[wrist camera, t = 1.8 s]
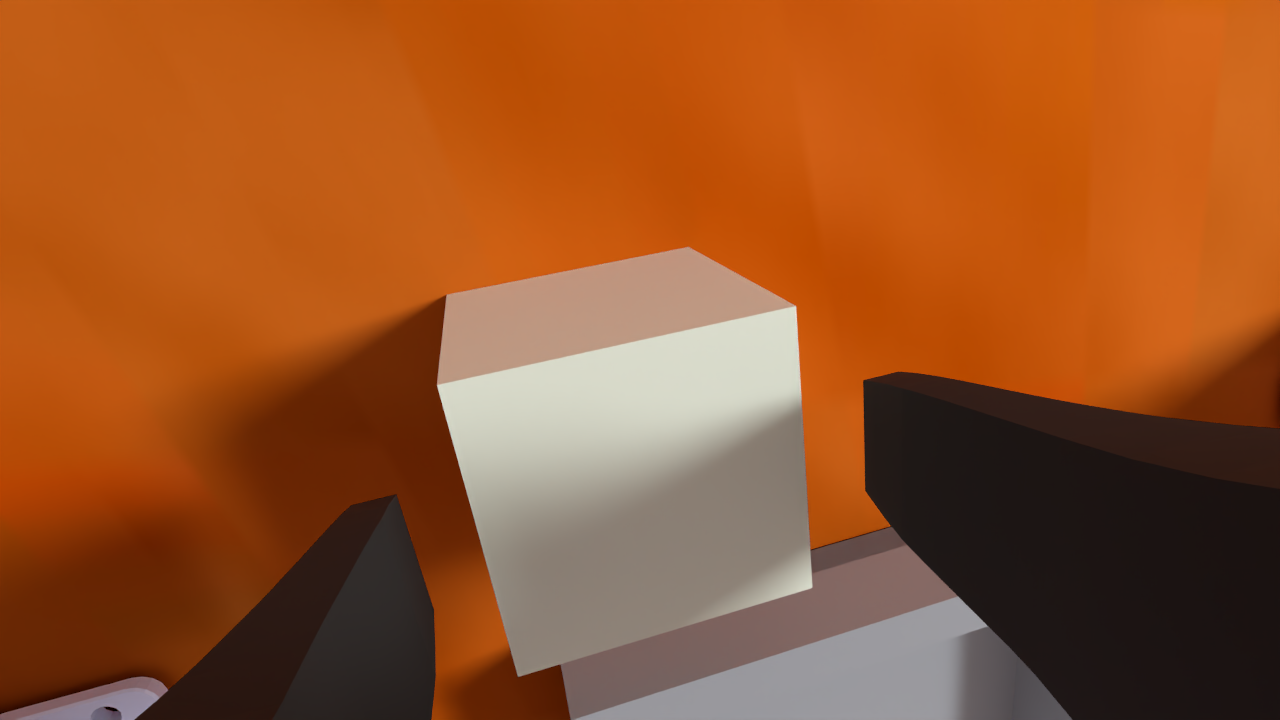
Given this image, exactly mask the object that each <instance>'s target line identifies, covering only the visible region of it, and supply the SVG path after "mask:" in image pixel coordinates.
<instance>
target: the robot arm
mask: <svg viewBox="0 0 1280 720" xmlns="http://www.w3.org/2000/svg"><path fill="white" fill-rule="evenodd" d="M863 387H864V442H865V491H866V492H867V494H868V495H869V496H870V498H871V499H872V501H873V502H874V503H875V505H876V506H877V508H878V509H879V510H880V512H881V513H882V515H883V516H884V517H885V519H886V520H887V521H888V522H889V524H890V525H891V526H892V528H893V529H894V530H895V531H896V533H897V534H898V535H899V537H900V538H901V539H902V540H903V541H904V542H905V543H906V544H907V545H908V546H909V548H910V549H911V550H912V551H913V552H914V553H915V554H916V555H917V556H918V557H919V558H920V559H921V560H922V561H923V562H924V563H925V564H926V565H927V566H928V567H929V568H930V569H931V570H932V571H933V572H934V573H935V574H936V575H937V576H938V577H939V578H940V579H941V580H942V581H943V582H944V583H945V584H946V585H947V586H948V587H949V588H950V589H951V590H952V591H953V592H954V593H955V594H956V595H957V596H958V597H959V598H960V599H961V600H962V601H963V602H964V603H965V604H966V605H967V606H968V607H969V608H970V609H971V610H972V611H973V612H974V613H975V614H976V615H977V616H978V617H979V618H980V619H981V620H982V621H983V622H984V623H985V624H986V625H987V626H988V627H989V628H990V629H991V630H992V631H993V632H994V633H995V634H996V635H997V636H998V637H999V638H1000V639H1001V640H1002V641H1003V642H1004V643H1005V644H1006V645H1007V646H1009V647H1010V649H1011V650H1012V651H1013V652H1014V653H1015V654H1016V655H1017V656H1018V657H1019V658H1020V659H1021V660H1022V661H1023V662H1024V664H1025V665H1026V666H1027V667H1028V668H1029V669H1030V670H1031V671H1032V672H1033V673H1034V674H1035V675H1036V677H1037V678H1038V679H1039V680H1040V681H1041V682H1042V684H1043V685H1044V686H1045V687H1046V689H1047V690H1048V691H1049V692H1050V693H1051V695H1052V696H1053V697H1054V698H1055V699H1056V701H1057V702H1058V703H1059V704H1060V705H1061V707H1062V708H1063V709H1064V710H1065V711H1066V713H1067V714H1068V715H1069V716H1070V717H1071V719H1072V720H1280V428H1266V427H1253V426H1240V425H1229V424H1220V423H1211V422H1202V421H1193V420H1184V419H1175V418H1166V417H1158V416H1151V415H1144V414H1137V413H1130V412H1124V411H1118V410H1112V409H1106V408H1100V407H1094V406H1088V405H1082V404H1076V403H1071V402H1065V401H1060V400H1055V399H1049V398H1044V397H1039V396H1034V395H1029V394H1024V393H1019V392H1014V391H1009V390H1004V389H999V388H995V387H990V386H985V385H980V384H975V383H970V382H965V381H960V380H955V379H949V378H944V377H938V376H932V375H925V374H918V373H908V372H896V373H891V374H887V375H883V376H879V377H875V378H871V379H867V380H863ZM435 676H436V674H435V630H434V609H433V606H432V603H431V600H430V597H429V594H428V590H427V587H426V584H425V581H424V578H423V575H422V572H421V569H420V566H419V563H418V560H417V557H416V554H415V550H414V547H413V544H412V541H411V538H410V535H409V532H408V529H407V526H406V523H405V520H404V517H403V514H402V510H401V507H400V504H399V501H398V498H397V495H392V496H388V497H384V498H379V499H375V500H371V501H367V502H363V503H359V504H355V505H351V506H350V507H349V508H348V509H347V510H346V511H344V512H343V513H342V514H341V515H340V516H339V517H338V518H337V520H336V521H335V522H334V523H333V524H332V525H331V526H330V527H329V528H328V529H327V530H326V531H325V532H324V533H323V535H322V536H321V537H320V538H319V539H318V540H317V541H316V542H315V543H314V544H313V545H312V547H311V548H310V549H309V550H308V551H307V552H306V553H305V554H304V555H303V556H302V558H301V559H300V560H299V561H298V562H297V563H296V564H295V565H294V566H293V567H292V568H291V569H290V570H289V572H288V573H287V574H286V575H285V576H284V577H283V578H282V579H281V580H280V581H279V582H278V583H277V584H276V586H275V587H274V588H273V589H272V590H271V591H270V592H269V593H268V594H267V595H266V596H265V597H264V598H263V599H262V600H261V601H260V602H259V603H258V604H257V605H256V606H255V607H254V608H253V609H252V610H251V611H250V612H249V613H248V614H247V615H246V616H245V617H244V618H243V619H242V620H241V621H240V622H239V623H238V624H237V625H236V626H235V627H234V628H233V629H232V630H231V631H230V632H229V633H228V634H227V635H226V636H225V637H224V638H223V639H222V640H221V641H220V642H219V643H218V644H217V645H216V646H215V647H214V648H213V649H212V650H211V651H210V652H209V653H208V654H207V655H206V656H205V657H204V658H203V659H202V660H201V661H200V662H199V663H198V664H197V665H196V666H194V667H193V668H192V669H191V670H190V671H189V672H188V673H187V674H186V675H185V676H184V677H183V678H181V679H180V680H179V681H178V682H177V683H176V684H175V685H174V686H173V687H171V688H170V689H169V690H168V689H167V688H166V687H165V686H164V684H163V683H162V682H160V681H158V680H156V679H154V678H149V677H134V678H129V679H125V680H121V681H118V682H114V683H111V684H107V685H103V686H100V687H96V688H92V689H89V690H85V691H82V692H78V693H74V694H71V695H67V696H63V697H60V698H56V699H53V700H49V701H45V702H42V703H38V704H34V705H31V706H27V707H23V708H20V709H16V710H13V711H9V712H5V713H2V714H0V720H431V717H432V707H433V698H434V687H435ZM108 706H109V707H113V708H116V709H117V710H119V711H110V710H106V709H105V708H104V707H108Z"/></svg>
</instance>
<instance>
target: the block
mask: <svg viewBox="0 0 1280 720" xmlns="http://www.w3.org/2000/svg"><path fill="white" fill-rule="evenodd" d="M437 387H438V391H439V395H440V398H441V402H442V405H443V409H444V413H445V416H446V420H447V423H448V427H449V431H450V434H451V438H452V441H453V445H454V449H455V452H456V456H457V459H458V463H459V467H460V470H461V474H462V477H463V481H464V485H465V488H466V492H467V495H468V499H469V502H470V506H471V510H472V513H473V517H474V520H475V524H476V528H477V531H478V535H479V538H480V542H481V546H482V549H483V553H484V556H485V560H486V564H487V567H488V571H489V574H490V578H491V582H492V585H493V589H494V592H495V596H496V600H497V603H498V607H499V610H500V614H501V618H502V621H503V625H504V628H505V632H506V636H507V639H508V643H509V646H510V650H511V654H512V657H513V661H514V664H515V668H516V671H517V675H518V677H520V676H523V675H526V674H530V673H533V672H536V671H540V670H543V669H546V668H550V667H553V666H556V665H559V664H563V663H566V662H569V661H573V660H576V659H579V658H583V657H586V656H589V655H592V654H596V653H599V652H602V651H606V650H609V649H612V648H616V647H619V646H622V645H626V644H629V643H632V642H635V641H639V640H642V639H645V638H649V637H652V636H655V635H659V634H662V633H665V632H669V631H672V630H675V629H678V628H682V627H685V626H688V625H692V624H695V623H698V622H702V621H705V620H708V619H711V618H715V617H718V616H721V615H725V614H728V613H731V612H735V611H738V610H741V609H745V608H748V607H751V606H754V605H758V604H761V603H764V602H768V601H771V600H774V599H778V598H781V597H784V596H788V595H791V594H794V593H797V592H801V591H804V590H807V589H811V588H812V571H811V554H810V537H809V520H808V503H807V486H806V469H805V452H804V435H803V418H802V401H801V384H800V367H799V350H798V333H797V316H796V306H795V305H793V304H791V303H789V302H788V301H786V300H784V299H782V298H780V297H779V296H777V295H775V294H773V293H771V292H769V291H768V290H766V289H764V288H762V287H760V286H759V285H757V284H755V283H753V282H751V281H749V280H748V279H746V278H744V277H742V276H740V275H739V274H737V273H735V272H733V271H731V270H729V269H728V268H726V267H724V266H722V265H720V264H719V263H717V262H715V261H713V260H711V259H710V258H708V257H706V256H704V255H702V254H700V253H699V252H697V251H695V250H693V249H691V248H690V247H686V248H681V249H676V250H671V251H666V252H661V253H656V254H651V255H646V256H641V257H636V258H631V259H626V260H621V261H616V262H610V263H605V264H600V265H595V266H590V267H585V268H580V269H575V270H570V271H565V272H560V273H555V274H550V275H545V276H540V277H535V278H529V279H524V280H519V281H514V282H509V283H504V284H499V285H494V286H489V287H484V288H479V289H474V290H469V291H464V292H459V293H454V294H448V295H447V296H446V305H445V315H444V324H443V333H442V342H441V352H440V361H439V370H438V379H437Z"/></svg>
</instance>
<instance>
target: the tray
mask: <svg viewBox="0 0 1280 720" xmlns="http://www.w3.org/2000/svg"><path fill="white" fill-rule="evenodd" d="M810 554H811V571H812V588H811V589H807V590H804V591H801V592H797V593H794V594H791V595H788V596H784V597H781V598H778V599H774V600H771V601H768V602H764V603H761V604H758V605H754V606H751V607H748V608H745V609H741V610H738V611H735V612H731V613H728V614H725V615H721V616H718V617H715V618H711V619H708V620H705V621H702V622H698V623H695V624H692V625H688V626H685V627H682V628H678V629H675V630H672V631H669V632H665V633H662V634H659V635H655V636H652V637H649V638H645V639H642V640H639V641H635V642H632V643H629V644H626V645H622V646H619V647H616V648H612V649H609V650H606V651H602V652H599V653H596V654H592V655H589V656H586V657H583V658H579V659H576V660H573V661H569V662H566V663H563V664H561V669H562V674H563V680H564V686H565V691H566V697H567V702H568V708H569V713H570V719H571V720H1072V719H1071V717H1070V716H1069V715H1068V714H1067V713H1066V711H1065V710H1064V709H1063V708H1062V707H1061V705H1060V704H1059V703H1058V702H1057V701H1056V699H1055V698H1054V697H1053V696H1052V695H1051V693H1050V692H1049V691H1048V690H1047V689H1046V687H1045V686H1044V685H1043V684H1042V682H1041V681H1040V680H1039V679H1038V678H1037V677H1036V675H1035V674H1034V673H1033V672H1032V671H1031V670H1030V669H1029V668H1028V667H1027V666H1026V665H1025V664H1024V662H1023V661H1022V660H1021V659H1020V658H1019V657H1018V656H1017V655H1016V654H1015V653H1014V652H1013V651H1012V650H1011V649H1010V647H1009V646H1007V645H1006V644H1005V643H1004V642H1003V641H1002V640H1001V639H1000V638H999V637H998V636H997V635H996V634H995V633H994V632H993V631H992V630H991V629H990V628H989V627H988V626H987V625H986V624H985V623H984V622H983V621H982V620H981V619H980V618H979V617H978V616H977V615H976V614H975V613H974V612H973V611H972V610H971V609H970V608H969V607H968V606H967V605H966V604H965V603H964V602H963V601H962V600H961V599H960V598H959V597H958V596H957V595H956V594H955V593H954V592H953V591H952V590H951V589H950V588H949V587H948V586H947V585H946V584H945V583H944V582H943V581H942V580H941V579H940V578H939V577H938V576H937V575H936V574H935V573H934V572H933V571H932V570H931V569H930V568H929V567H928V566H927V565H926V564H925V563H924V562H923V561H922V560H921V559H920V558H919V557H918V556H917V555H916V554H915V553H914V552H913V551H912V550H911V549H910V548H909V546H908V545H907V544H906V543H905V542H904V541H903V540H902V539H901V538H900V537H899V535H898V534H897V533H896V531H895V530H894V529H893V528H892V527H889V528H886V529H883V530H879V531H876V532H872V533H869V534H866V535H862V536H859V537H855V538H852V539H848V540H845V541H842V542H838V543H835V544H831V545H828V546H825V547H821V548H818V549H814V550H811V551H810Z"/></svg>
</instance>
